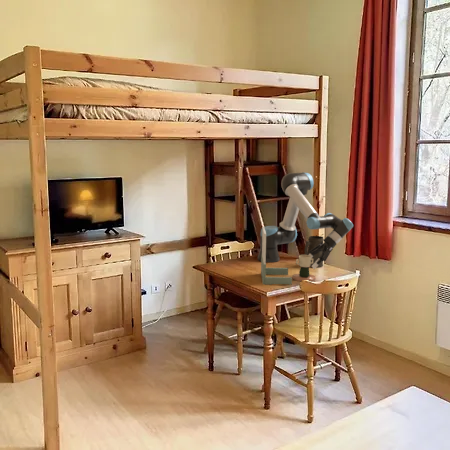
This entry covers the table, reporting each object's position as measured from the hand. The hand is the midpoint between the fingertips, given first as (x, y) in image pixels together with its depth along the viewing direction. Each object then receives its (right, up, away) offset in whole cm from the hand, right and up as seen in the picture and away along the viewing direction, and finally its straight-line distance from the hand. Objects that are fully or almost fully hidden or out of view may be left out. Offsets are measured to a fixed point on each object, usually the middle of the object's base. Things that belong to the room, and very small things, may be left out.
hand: (308, 265), depth 319 cm
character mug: (-2, -7, +1) cm, 8 cm away
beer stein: (+8, -3, +32) cm, 33 cm away
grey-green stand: (-19, -8, 0) cm, 21 cm away
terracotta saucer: (-3, -8, +1) cm, 9 cm away
